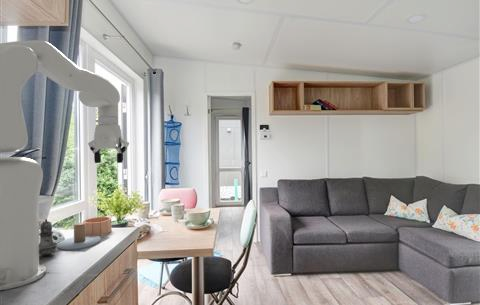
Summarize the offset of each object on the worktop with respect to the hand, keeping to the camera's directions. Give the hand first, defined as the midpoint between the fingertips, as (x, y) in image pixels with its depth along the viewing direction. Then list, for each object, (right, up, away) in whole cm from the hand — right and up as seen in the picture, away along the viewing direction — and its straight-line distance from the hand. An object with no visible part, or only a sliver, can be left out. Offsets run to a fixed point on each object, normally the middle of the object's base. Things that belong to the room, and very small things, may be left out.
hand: (108, 162), depth 110 cm
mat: (-2, -29, -16) cm, 33 cm away
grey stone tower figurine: (-6, -29, -27) cm, 40 cm away
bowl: (-3, -28, -3) cm, 29 cm away
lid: (-2, -28, -16) cm, 32 cm away
